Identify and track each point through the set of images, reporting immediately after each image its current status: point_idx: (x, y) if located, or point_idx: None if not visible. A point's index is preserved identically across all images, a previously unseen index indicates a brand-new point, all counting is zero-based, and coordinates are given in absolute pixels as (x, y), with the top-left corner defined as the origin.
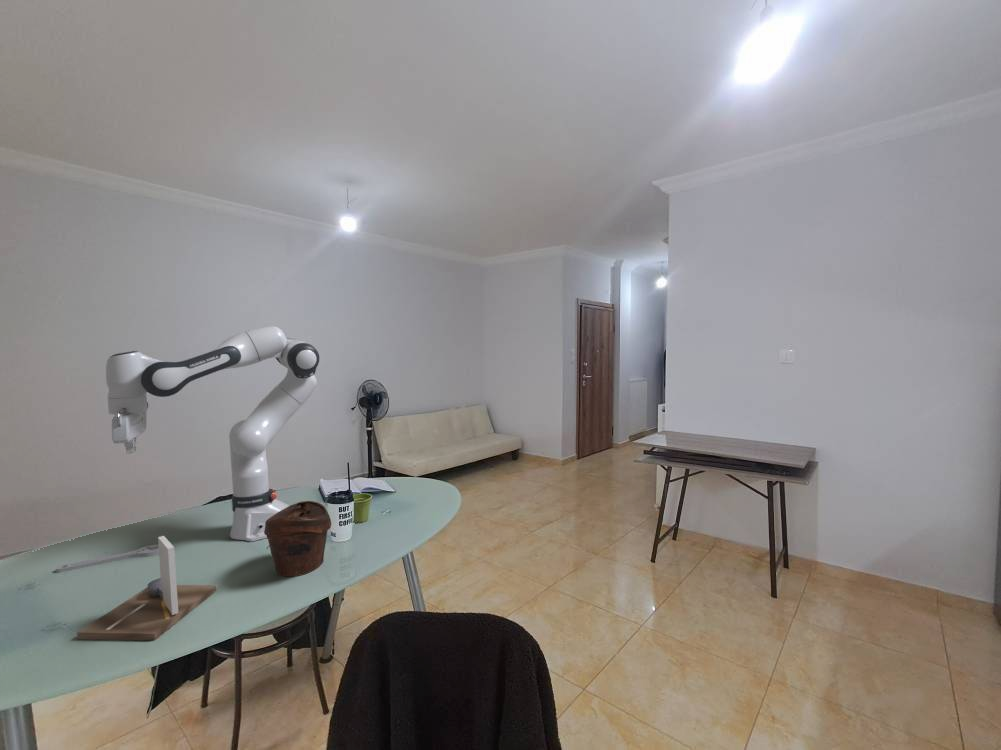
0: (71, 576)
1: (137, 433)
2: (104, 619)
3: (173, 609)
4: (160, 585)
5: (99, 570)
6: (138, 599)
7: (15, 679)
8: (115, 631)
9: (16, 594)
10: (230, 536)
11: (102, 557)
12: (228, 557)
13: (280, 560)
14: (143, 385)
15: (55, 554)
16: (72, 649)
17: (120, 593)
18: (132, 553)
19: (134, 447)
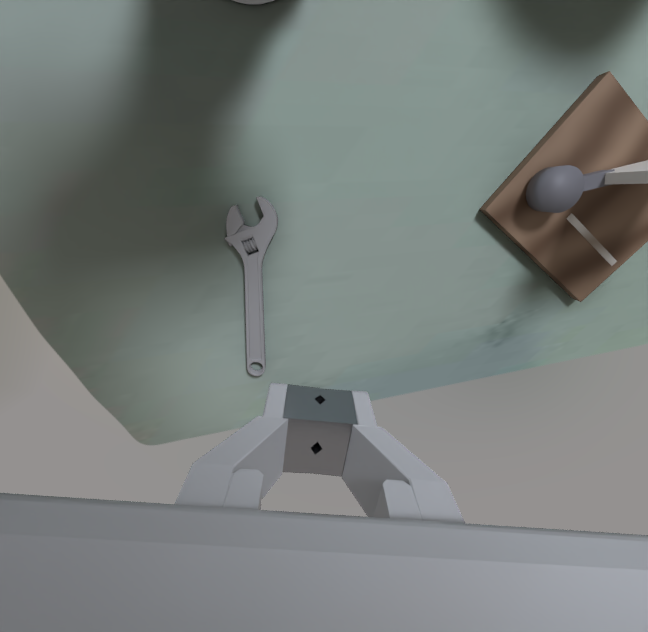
0: (299, 346)
1: (370, 573)
2: (570, 271)
3: None
4: (581, 187)
5: (300, 308)
6: (537, 227)
7: (618, 344)
8: (632, 251)
9: None
10: (264, 1)
11: (246, 312)
12: (420, 27)
13: None
14: None
15: (156, 390)
16: (599, 299)
17: (447, 260)
18: (258, 259)
19: (338, 416)
